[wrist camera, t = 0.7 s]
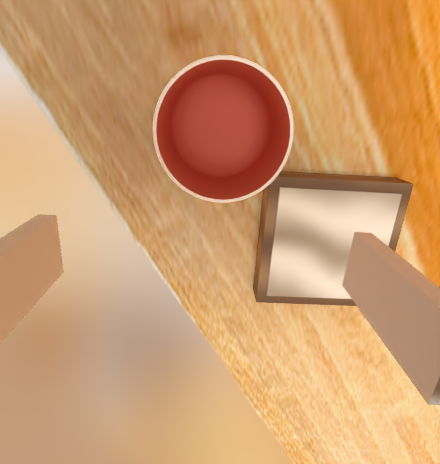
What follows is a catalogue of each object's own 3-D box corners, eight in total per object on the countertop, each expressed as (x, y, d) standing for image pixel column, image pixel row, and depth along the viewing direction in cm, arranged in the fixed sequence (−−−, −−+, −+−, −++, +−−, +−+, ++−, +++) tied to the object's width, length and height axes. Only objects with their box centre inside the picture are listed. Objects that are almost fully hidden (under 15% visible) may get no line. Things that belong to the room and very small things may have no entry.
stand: (265, 170, 34) (271, 176, 31) (396, 177, 34) (414, 184, 31) (253, 288, 39) (256, 303, 35) (367, 292, 39) (381, 307, 36)
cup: (254, 187, 34) (270, 216, 25) (161, 164, 33) (141, 186, 24) (283, 87, 31) (314, 77, 22) (180, 58, 30) (166, 34, 20)
